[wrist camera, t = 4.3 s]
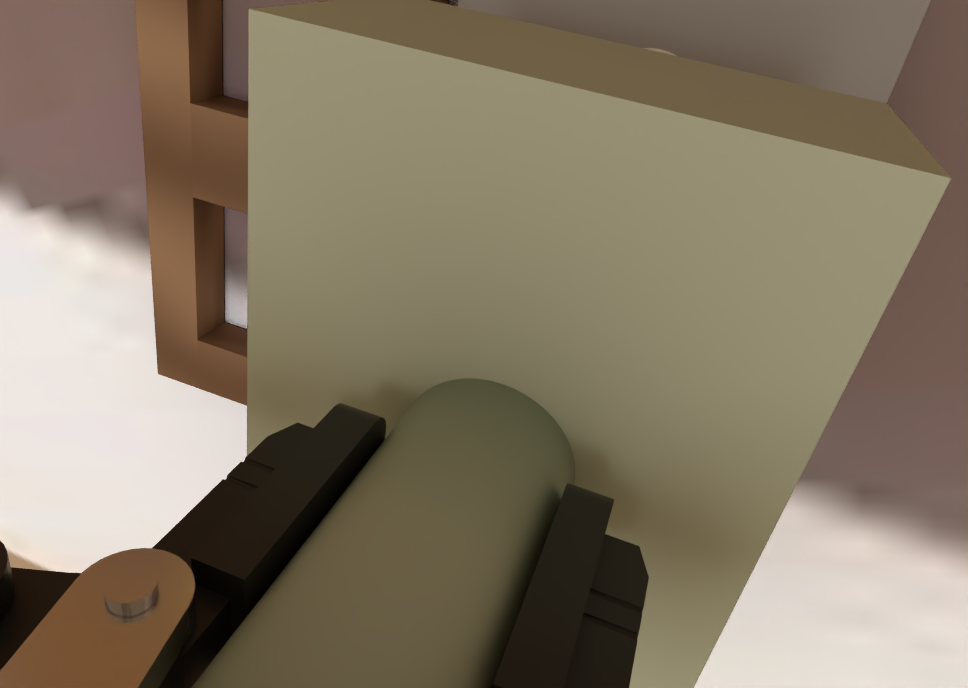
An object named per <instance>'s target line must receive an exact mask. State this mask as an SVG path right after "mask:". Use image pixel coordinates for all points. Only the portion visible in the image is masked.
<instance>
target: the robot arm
mask: <svg viewBox="0 0 968 688" xmlns="http://www.w3.org/2000/svg"><path fill="white" fill-rule="evenodd" d="M385 434H386V421H385V419H384V418H383V417H380V416H377V415H374V414H371V413H368V412H365V411H363V410H360V409H357V408H354V407H351V406H348V405H345V404H343V403H339V404H337V405H335V406H334V407H333V408H332V409H331V410H330V411H329V412H328V413H327V414H326V416H325V417H324V418H323V419H322V420H321V421H320V422H319V423H318V424H317V425H316V426H315V427H314V428H311V427H309V426H306V425H303V424H300V423H296V424H293V425H291V426H289V427H287V428H285V429H282V430H280V431H278V432H276V433H274V434H271V435H269V436H267V437H266V438H265V439H264V440H263V441H262V442H261V443H260V444H259V445H258V446H257V447H256V448H255V449H254V450H253V451H252V452H251V453H250V454H249V455H248V456H247V457H246V458H245V461H244V462H240V463H239V464H238V465H237V466H236V467H235V468H234V469H233V470H232V471H231V472H230V473H229V474H228V476H227V479H226V480H222V481H221V482H220V483H219V484H218V485H217V486H216V487H215V488H214V489H213V490H212V491H211V492H210V493H209V494H208V495H206V496H205V497H204V498H203V499H202V500H201V501H200V502H199V503H198V504H197V505H196V506H195V507H194V508H193V509H192V510H191V511H190V512H189V513H188V514H187V515H186V516H185V517H184V518H183V519H182V520H181V521H180V522H179V523H178V524H177V525H176V526H175V527H174V528H173V529H172V530H171V531H169V532H168V533H167V534H166V535H165V536H164V537H163V538H162V539H161V540H160V541H159V542H158V543H157V544H156V545H155V546H154V547H153V548H151V549H150V548H140V549H131V550H126V551H121V552H118V553H115V554H112V555H110V556H107V557H105V558H103V559H101V560H99V561H98V562H96V563H94V564H93V565H91V566H90V567H89V568H87V569H86V570H85V571H83V572H82V573H65V572H54V571H43V570H32V569H22V568H11V567H10V562H9V558H8V554H7V550H6V548H5V546H4V544H3V543H2V542H1V541H0V688H191V687H192V686H193V685H194V683H195V682H196V681H197V680H198V678H199V677H200V676H201V674H202V673H203V672H204V671H205V669H206V668H207V667H208V665H209V664H210V663H211V662H212V660H213V659H214V658H215V657H216V655H217V654H218V653H219V651H220V650H221V649H222V648H223V646H224V645H225V644H226V642H227V641H228V640H229V639H230V637H231V636H232V635H233V633H234V632H235V631H236V630H237V628H238V627H239V626H240V624H241V623H242V622H243V621H244V619H245V618H246V617H247V615H248V614H249V613H250V612H251V610H252V609H253V608H254V607H255V605H256V604H257V603H258V601H259V600H260V599H261V598H262V596H263V595H264V594H265V592H266V591H267V590H268V589H269V587H270V586H271V585H272V583H273V582H274V581H275V580H276V578H277V577H278V576H279V574H280V573H281V572H282V571H283V569H284V568H285V567H286V565H287V564H288V563H289V562H290V560H291V559H292V558H293V556H294V555H295V554H296V553H297V551H298V550H299V549H300V548H301V546H302V545H303V544H304V542H305V541H306V540H307V539H308V537H309V536H310V535H311V533H312V532H313V531H314V530H315V528H316V527H317V526H318V524H319V523H320V522H321V521H322V519H323V518H324V517H325V515H326V514H327V513H328V512H329V510H330V509H331V508H332V506H333V505H334V504H335V503H336V501H337V500H338V499H339V498H340V496H341V495H342V494H343V492H344V491H345V490H346V489H347V487H348V486H349V485H350V483H351V482H352V481H353V480H354V478H355V477H356V476H357V474H358V473H359V472H360V471H361V469H362V468H363V467H364V465H365V464H366V463H367V462H368V460H369V459H370V458H371V456H372V455H373V454H374V453H375V451H376V450H377V449H378V448H379V446H380V445H381V444H382V442H383V441H384V440H385ZM613 503H614V499H613V498H610V497H607V496H604V495H601V494H598V493H595V492H593V491H590V490H587V489H584V488H581V487H578V486H575V485H573V484H570V483H567V485H566V487H565V490H564V492H563V495H562V498H561V501H560V503H559V506H558V509H557V511H556V514H555V517H554V520H553V522H552V525H551V528H550V530H549V533H548V536H547V539H546V541H545V544H544V547H543V549H542V552H541V555H540V558H539V560H538V563H537V566H536V568H535V571H534V574H533V577H532V579H531V582H530V585H529V587H528V590H527V593H526V595H525V598H524V601H523V604H522V606H521V609H520V612H519V614H518V617H517V620H516V623H515V625H514V628H513V631H512V633H511V636H510V639H509V642H508V644H507V647H506V650H505V652H504V655H503V658H502V661H501V663H500V666H499V669H498V671H497V674H496V677H495V680H494V682H493V685H492V688H629V685H630V680H631V674H632V669H633V663H634V658H635V652H636V647H637V641H638V640H637V638H638V635H639V630H640V625H641V619H642V611H643V608H644V602H645V597H646V591H647V586H648V580H649V576H648V573H647V570H646V566H645V563H644V560H643V557H642V553H641V550H640V547H639V546H637V545H635V544H632V543H629V542H626V541H623V540H621V539H618V538H615V537H612V536H610V535H607V534H605V532H606V529H607V525H608V521H609V518H610V514H611V510H612V507H613Z"/></svg>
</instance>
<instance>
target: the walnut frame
mask: <svg viewBox="0 0 968 688" xmlns="http://www.w3.org/2000/svg"><path fill="white" fill-rule="evenodd" d="M431 1H435V2H440V3H444V4H448V0H431ZM135 15H136V31H137V47H138V63H139V78H140V94H141V110H142V126H143V142H144V158H145V174H146V190H147V206H148V222H149V238H150V254H151V270H152V286H153V302H154V318H155V334H156V350H157V366H158V374H160V375H163V376H166V377H168V378H171V379H174V380H177V381H180V382H182V383H185V384H188V385H191V386H194V387H196V388H199V389H202V390H205V391H208V392H210V393H213V394H216V395H219V396H222V397H224V398H227V399H230V400H233V401H236V402H238V403H241V404H244V405H247V330H246V329H243V328H240V327H237V326H234V325H231V324H228V323H225V310H224V207H227V208H230V209H234V210H237V211H240V212H244V213H247V214H248V102H245V101H241V100H237V99H233V98H230V97H226V96H223V83H222V0H135Z"/></svg>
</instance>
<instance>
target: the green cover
mask: <svg viewBox="0 0 968 688" xmlns="http://www.w3.org/2000/svg"><path fill="white" fill-rule="evenodd" d="M950 180H951V177H950V176H949V175H948V174H947V173H946V172H945V170H944V169H943V168H942V167H941V166H940V165H939V164H938V162H937V161H936V160H935V159H934V158H933V157H932V155H931V154H930V153H929V152H928V151H927V150H926V148H925V147H924V146H923V145H922V144H921V143H920V141H919V140H918V139H917V138H916V137H915V136H914V134H913V133H912V132H911V131H910V130H909V129H908V127H907V126H906V125H905V124H904V123H903V122H902V121H901V119H900V118H899V117H898V116H897V115H896V114H895V112H894V111H893V110H892V109H891V108H890V107H889V105H888V104H886V103H882V102H877V101H873V100H868V99H864V98H860V97H855V96H851V95H846V94H842V93H838V92H833V91H829V90H824V89H820V88H815V87H811V86H807V85H802V84H798V83H793V82H789V81H785V80H780V79H776V78H771V77H767V76H762V75H758V74H754V73H749V72H745V71H740V70H736V69H732V68H727V67H723V66H718V65H714V64H709V63H705V62H701V61H696V60H692V59H687V58H683V57H678V56H674V55H670V54H665V53H661V52H656V51H652V50H648V49H643V48H639V47H634V46H630V45H625V44H621V43H617V42H612V41H608V40H603V39H599V38H595V37H590V36H586V35H581V34H577V33H572V32H568V31H564V30H559V29H555V28H550V27H546V26H542V25H537V24H533V23H528V22H524V21H519V20H515V19H511V18H506V17H502V16H497V15H493V14H488V13H484V12H480V11H475V10H471V9H466V8H462V7H458V6H453V5H449V4H444V3H440V2H435V1H431V0H331V1H322V2H312V3H302V4H292V5H282V6H272V7H262V8H252V9H249V72H248V323H247V456H248V455H249V454H250V453H251V452H252V451H253V450H254V449H255V448H256V447H257V446H258V445H259V444H260V443H261V442H262V441H263V440H264V439H265V438H266V437H267V436H269V435H271V434H274V433H276V432H278V431H280V430H282V429H285V428H287V427H289V426H291V425H293V424H296V423H300V424H303V425H306V426H309V427H311V428H314V427H315V426H316V425H317V424H318V423H319V422H320V421H321V420H322V419H323V418H324V417H325V416H326V414H327V413H328V412H329V411H330V410H331V409H332V408H333V407H334V406H335V405H337V404H339V403H343V404H345V405H348V406H351V407H354V408H357V409H360V410H363V411H365V412H368V413H371V414H374V415H377V416H380V417H383V418H384V419H385V421H386V434H385V440H384V441H383V442H382V444H381V445H380V446H379V448H378V449H377V450H376V451H375V453H374V454H373V455H372V456H371V458H370V459H369V460H368V462H367V463H366V464H365V465H364V467H363V468H362V469H361V471H360V472H359V473H358V474H357V476H356V477H355V478H354V480H353V481H352V482H351V483H350V485H349V486H348V487H347V489H346V490H345V491H344V492H343V494H342V495H341V496H340V498H339V499H338V500H337V501H336V503H335V504H334V505H333V506H332V508H331V509H330V510H329V512H328V513H327V514H326V515H325V517H324V518H323V519H322V521H321V522H320V523H319V524H318V526H317V527H316V528H315V530H314V531H313V532H312V533H311V535H310V536H309V537H308V539H307V540H306V541H305V542H304V544H303V545H302V546H301V548H300V549H299V550H298V551H297V553H296V554H295V555H294V556H293V558H292V559H291V560H290V562H289V563H288V564H287V565H286V567H285V568H284V569H283V571H282V572H281V573H280V574H279V576H278V577H277V578H276V580H275V581H274V582H273V583H272V585H271V586H270V587H269V589H268V590H267V591H266V592H265V594H264V595H263V596H262V598H261V599H260V600H259V601H258V603H257V604H256V605H255V607H254V608H253V609H252V610H251V612H250V613H249V614H248V615H247V617H246V618H245V619H244V621H243V622H242V623H241V624H240V626H239V627H238V628H237V630H236V631H235V632H234V633H233V635H232V636H231V637H230V639H229V640H228V641H227V642H226V644H225V645H224V646H223V648H222V649H221V650H220V651H219V653H218V654H217V655H216V657H215V658H214V659H213V660H212V662H211V663H210V664H209V665H208V667H207V668H206V669H205V671H204V672H203V673H202V674H201V676H200V677H199V678H198V680H197V681H196V682H195V683H194V685H193V686H192V687H191V688H492V685H493V682H494V680H495V677H496V674H497V671H498V669H499V666H500V663H501V661H502V658H503V655H504V652H505V650H506V647H507V644H508V642H509V639H510V636H511V633H512V631H513V628H514V625H515V623H516V620H517V617H518V614H519V612H520V609H521V606H522V604H523V601H524V598H525V595H526V593H527V590H528V587H529V585H530V582H531V579H532V577H533V574H534V571H535V568H536V566H537V563H538V560H539V558H540V555H541V552H542V549H543V547H544V544H545V541H546V539H547V536H548V533H549V530H550V528H551V525H552V522H553V520H554V517H555V514H556V511H557V509H558V506H559V503H560V501H561V498H562V495H563V492H564V490H565V487H566V485H567V483H570V484H573V485H575V486H578V487H581V488H584V489H587V490H590V491H593V492H595V493H598V494H601V495H604V496H607V497H610V498H613V499H614V503H613V507H612V510H611V514H610V518H609V521H608V525H607V529H606V532H605V534H607V535H610V536H612V537H615V538H618V539H621V540H623V541H626V542H629V543H632V544H635V545H637V546H639V547H640V550H641V553H642V557H643V560H644V563H645V566H646V570H647V573H648V576H649V580H648V586H647V591H646V597H645V602H644V608H643V611H642V619H641V625H640V630H639V635H638V638H637V640H638V641H637V647H636V652H635V658H634V663H633V669H632V674H631V680H630V685H629V688H694V686H695V684H696V682H697V680H698V678H699V676H700V674H701V672H702V670H703V668H704V666H705V664H706V662H707V660H708V658H709V656H710V654H711V652H712V650H713V648H714V646H715V644H716V642H717V640H718V638H719V636H720V634H721V632H722V630H723V628H724V627H725V625H726V623H727V621H728V619H729V617H730V615H731V613H732V611H733V609H734V607H735V605H736V603H737V601H738V599H739V597H740V595H741V593H742V591H743V589H744V587H745V585H746V583H747V581H748V579H749V577H750V575H751V573H752V571H753V569H754V567H755V565H756V563H757V561H758V559H759V557H760V555H761V553H762V551H763V549H764V547H765V545H766V544H767V542H768V540H769V538H770V536H771V534H772V532H773V530H774V528H775V526H776V524H777V522H778V520H779V518H780V516H781V514H782V512H783V510H784V508H785V506H786V504H787V502H788V500H789V498H790V496H791V494H792V492H793V490H794V488H795V486H796V484H797V482H798V480H799V478H800V476H801V474H802V472H803V470H804V468H805V466H806V464H807V462H808V460H809V459H810V457H811V455H812V453H813V451H814V449H815V447H816V445H817V443H818V441H819V439H820V437H821V435H822V433H823V431H824V429H825V427H826V425H827V423H828V421H829V419H830V417H831V415H832V413H833V411H834V409H835V407H836V405H837V403H838V401H839V399H840V397H841V395H842V393H843V391H844V389H845V387H846V385H847V383H848V381H849V379H850V377H851V375H852V374H853V372H854V370H855V368H856V366H857V364H858V362H859V360H860V358H861V356H862V354H863V352H864V350H865V348H866V346H867V344H868V342H869V340H870V338H871V336H872V334H873V332H874V330H875V328H876V326H877V324H878V322H879V320H880V318H881V316H882V314H883V312H884V310H885V308H886V306H887V304H888V302H889V300H890V298H891V296H892V294H893V292H894V290H895V289H896V287H897V285H898V283H899V281H900V279H901V277H902V275H903V273H904V271H905V269H906V267H907V265H908V263H909V261H910V259H911V257H912V255H913V253H914V251H915V249H916V247H917V245H918V243H919V241H920V239H921V237H922V235H923V233H924V231H925V229H926V227H927V225H928V223H929V221H930V219H931V217H932V215H933V213H934V211H935V209H936V207H937V205H938V204H939V202H940V200H941V198H942V196H943V194H944V192H945V190H946V188H947V186H948V184H949V182H950Z"/></svg>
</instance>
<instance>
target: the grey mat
mask: <svg viewBox="0 0 968 688" xmlns="http://www.w3.org/2000/svg"><path fill="white" fill-rule="evenodd" d="M930 2H931V0H458V5H457V6H458V7H462V8H466V9H471V10H475V11H480V12H484V13H488V14H493V15H497V16H502V17H506V18H511V19H515V20H519V21H524V22H528V23H533V24H537V25H542V26H546V27H550V28H555V29H559V30H564V31H568V32H572V33H577V34H581V35H586V36H590V37H595V38H599V39H603V40H608V41H612V42H617V43H621V44H625V45H630V46H634V47H639V48H643V49H648V50H652V51H656V52H661V53H665V54H670V55H674V56H678V57H683V58H687V59H692V60H696V61H701V62H705V63H709V64H714V65H718V66H723V67H727V68H732V69H736V70H740V71H745V72H749V73H754V74H758V75H762V76H767V77H771V78H776V79H780V80H785V81H789V82H793V83H798V84H802V85H807V86H811V87H815V88H820V89H824V90H829V91H833V92H838V93H842V94H846V95H851V96H855V97H860V98H864V99H868V100H873V101H877V102H882V103H886V104H887V102H888V99H889V97H890V95H891V92H892V90H893V88H894V85H895V83H896V81H897V78H898V76H899V74H900V71H901V69H902V67H903V64H904V62H905V60H906V57H907V55H908V53H909V50H910V48H911V46H912V43H913V41H914V39H915V36H916V34H917V32H918V29H919V27H920V25H921V22H922V20H923V18H924V15H925V13H926V11H927V9H928V6H929V4H930Z"/></svg>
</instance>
